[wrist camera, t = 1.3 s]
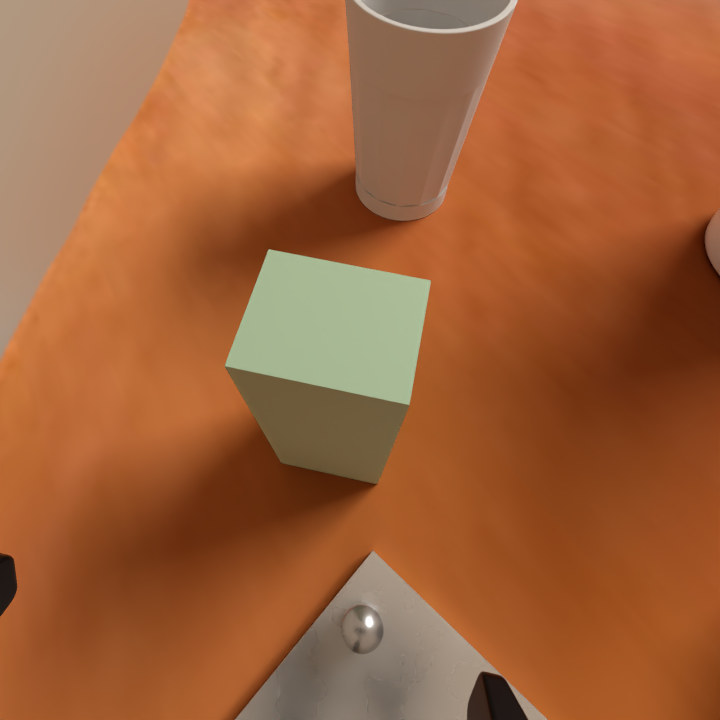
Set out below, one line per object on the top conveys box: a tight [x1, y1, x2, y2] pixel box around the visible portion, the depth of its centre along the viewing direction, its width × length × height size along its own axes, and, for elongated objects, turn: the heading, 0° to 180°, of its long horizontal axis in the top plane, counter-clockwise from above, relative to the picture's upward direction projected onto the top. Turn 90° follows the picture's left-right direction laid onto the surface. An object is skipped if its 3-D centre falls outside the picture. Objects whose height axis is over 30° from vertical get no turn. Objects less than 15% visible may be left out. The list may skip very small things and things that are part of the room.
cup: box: [345, 0, 518, 221], centre depth 26 cm, size 8×8×12 cm
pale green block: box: [225, 249, 431, 484], centre depth 18 cm, size 4×5×12 cm
